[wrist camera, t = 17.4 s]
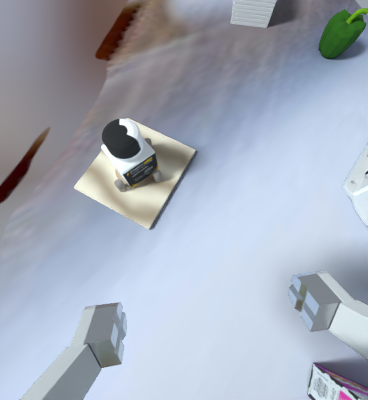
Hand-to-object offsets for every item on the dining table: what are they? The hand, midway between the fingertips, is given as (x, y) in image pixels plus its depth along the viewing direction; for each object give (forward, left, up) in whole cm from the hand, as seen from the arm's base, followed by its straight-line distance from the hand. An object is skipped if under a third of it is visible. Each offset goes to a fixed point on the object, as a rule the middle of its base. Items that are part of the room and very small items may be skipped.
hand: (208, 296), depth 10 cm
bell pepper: (-69, +7, -30) cm, 76 cm away
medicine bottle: (-14, -20, -28) cm, 37 cm away
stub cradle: (-13, -20, -29) cm, 38 cm away
